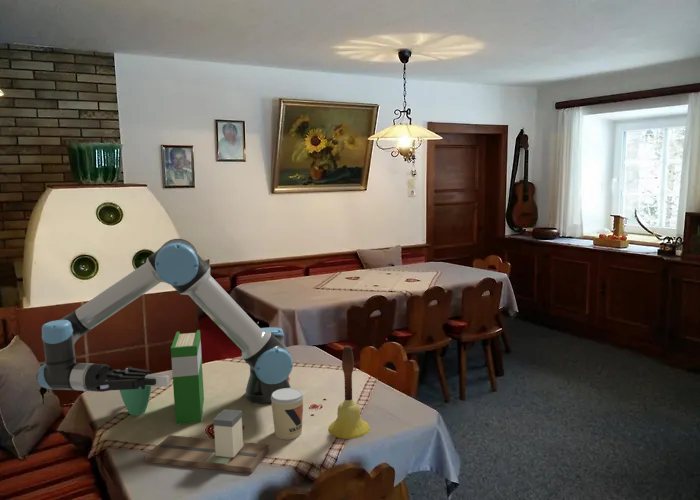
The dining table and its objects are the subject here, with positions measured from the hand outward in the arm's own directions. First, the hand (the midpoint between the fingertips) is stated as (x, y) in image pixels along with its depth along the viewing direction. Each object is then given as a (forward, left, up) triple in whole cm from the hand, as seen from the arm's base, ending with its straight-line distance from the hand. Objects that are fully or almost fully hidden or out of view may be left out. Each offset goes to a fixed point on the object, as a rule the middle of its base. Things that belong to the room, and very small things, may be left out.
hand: (168, 380), depth 147 cm
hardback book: (-8, -23, -20) cm, 31 cm away
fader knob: (-13, +12, -18) cm, 25 cm away
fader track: (-8, +8, -20) cm, 23 cm away
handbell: (-49, +10, -20) cm, 53 cm away
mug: (+7, -32, -20) cm, 38 cm away
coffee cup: (-32, +5, -20) cm, 38 cm away
